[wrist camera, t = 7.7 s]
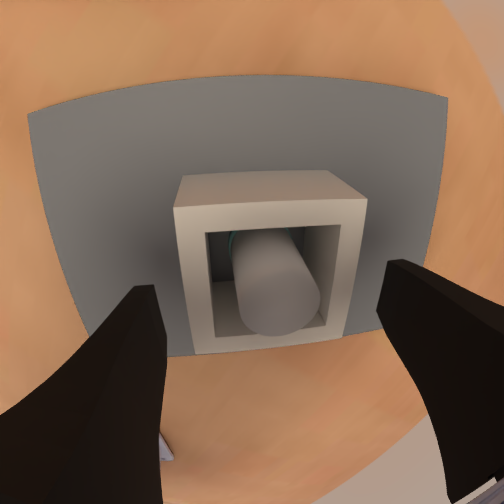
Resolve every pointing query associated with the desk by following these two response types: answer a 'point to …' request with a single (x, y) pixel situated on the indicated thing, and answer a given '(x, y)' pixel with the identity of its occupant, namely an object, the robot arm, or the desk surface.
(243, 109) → the shaft board
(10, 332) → the desk surface
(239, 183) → the collar
